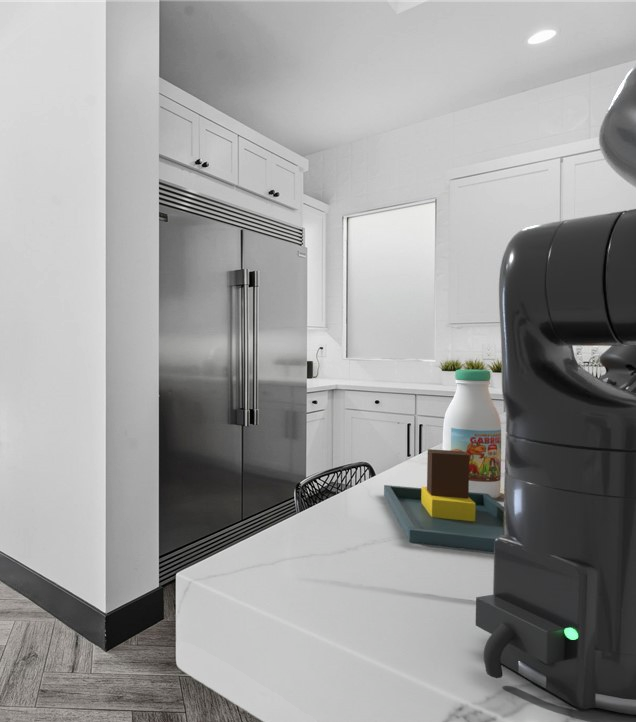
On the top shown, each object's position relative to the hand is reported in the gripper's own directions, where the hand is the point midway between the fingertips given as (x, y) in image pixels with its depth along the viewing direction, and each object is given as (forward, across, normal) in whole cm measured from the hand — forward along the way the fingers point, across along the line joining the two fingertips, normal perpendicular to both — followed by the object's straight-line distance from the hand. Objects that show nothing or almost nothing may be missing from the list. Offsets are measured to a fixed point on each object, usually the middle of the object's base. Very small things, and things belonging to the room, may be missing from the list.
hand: (554, 442), depth 69 cm
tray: (+16, +2, -1) cm, 17 cm away
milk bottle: (+11, -16, +3) cm, 20 cm away
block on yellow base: (+16, -2, -2) cm, 16 cm away
